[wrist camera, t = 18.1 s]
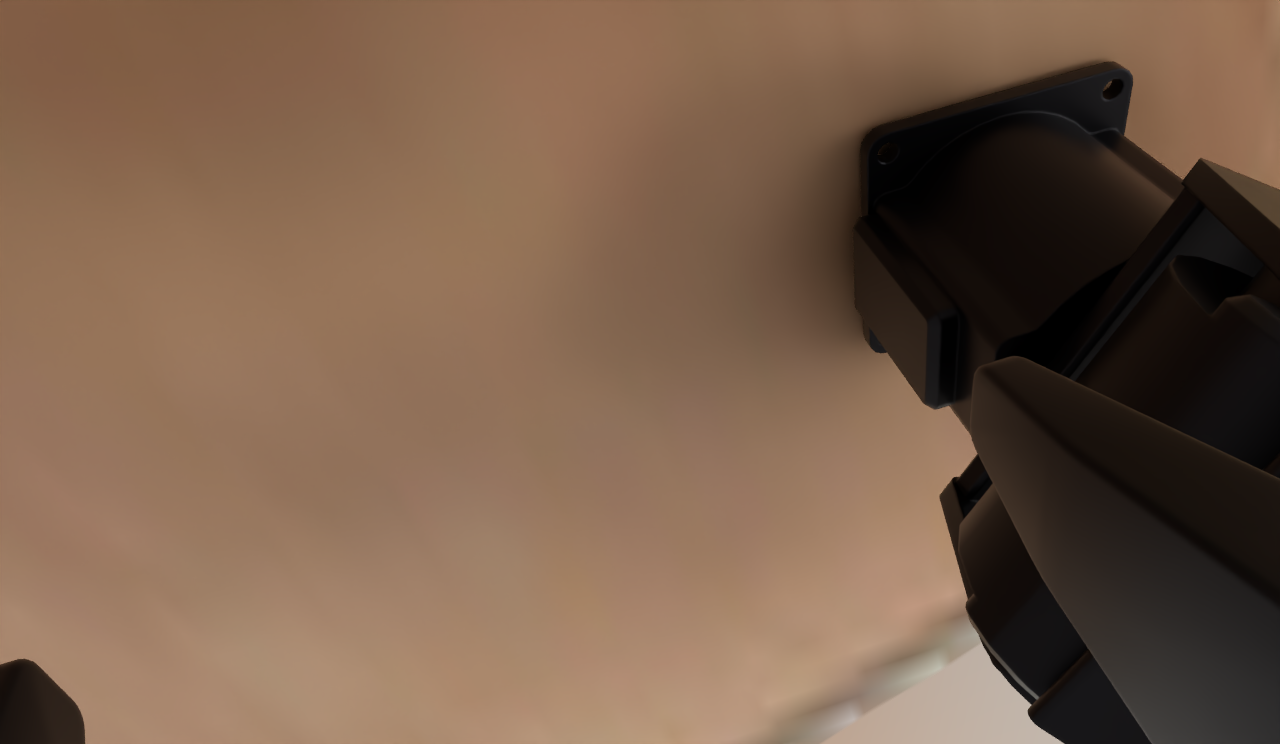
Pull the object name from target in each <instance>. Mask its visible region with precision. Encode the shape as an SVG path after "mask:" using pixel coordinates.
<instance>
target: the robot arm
mask: <svg viewBox="0 0 1280 744" xmlns="http://www.w3.org/2000/svg"><path fill="white" fill-rule="evenodd" d="M1111 80H1112V83H1111V85H1110V86H1109V87H1108V88H1107V90H1105V91H1103V90H1104V87H1105V86H1106V85H1107V84H1108V82H1110V81H1111ZM1132 86H1133V76H1132V75H1131V73H1130V71H1129V70H1127V69H1126V68H1124V67H1123V66H1121V65H1120V64H1118V63H1115V62H1104V63H1101V64H1097V65H1094V66H1090V67H1086V68H1083V69H1079V70H1076V71H1072V72H1069V73H1065V74H1061V75H1058V76H1054V77H1051V78H1047V79H1044V80H1040V81H1037V82H1033V83H1029V84H1026V85H1022V86H1019V87H1015V88H1012V89H1008V90H1004V91H1001V92H997V93H994V94H990V95H987V96H983V97H979V98H976V99H972V100H969V101H965V102H962V103H958V104H955V105H951V106H947V107H944V108H940V109H937V110H933V111H930V112H926V113H922V114H919V115H915V116H912V117H908V118H905V119H901V120H897V121H894V122H890V123H887V124H883V125H880V126H878V127H876V128H874V129H872V130H871V131H870V132H869V133H868V134H867V135H866V136H865V138H864V139H863V141H862V143H861V148H860V175H861V217H859V218H858V219H857V221H856V223H855V225H854V227H853V259H854V297H855V307H856V309H857V310H858V312H859V313H860V315H861V316H862V317H863V332H864V338H865V340H866V341H867V343H868V344H869V346H870V347H871V349H873V350H874V351H875V352H878V353H886V352H887V353H888V354H889V356H890V357H891V358H892V360H893V361H894V363H895V364H896V365H897V367H898V368H899V370H900V371H901V373H902V374H903V375H904V377H905V378H906V380H907V381H908V382H909V384H910V385H911V387H912V388H913V389H914V391H915V392H916V394H917V395H918V397H919V398H920V399H921V401H922V402H923V403H924V404H925V405H927V406H929V407H931V408H932V409H939V408H942V407H946V406H950V407H951V409H952V410H953V412H954V413H955V414H956V416H957V417H958V418H959V420H960V421H961V422H962V424H963V425H964V427H965V428H966V429H967V431H968V432H969V433H970V435H971V437H972V441H973V444H974V447H975V449H976V451H977V453H978V454H977V455H976V456H975V458H974V459H973V460H972V461H971V463H970V464H969V465H968V467H967V468H966V469H965V470H964V472H963V473H962V474H961V476H960V477H954V478H953V479H952V480H951V481H950V483H949V484H948V485H947V486H946V488H945V489H944V490H943V492H942V493H941V494H940V501H941V505H942V508H943V512H944V516H945V519H946V523H947V526H948V530H949V533H950V537H951V541H952V544H953V548H954V551H955V555H956V558H957V562H958V565H959V569H960V573H961V576H962V580H963V583H964V587H965V590H966V594H967V598H968V601H967V602H966V610H967V614H968V617H969V620H970V622H971V624H972V625H973V627H974V628H975V630H976V631H977V633H978V634H979V637H980V639H981V642H982V644H983V646H984V648H985V650H986V651H987V653H988V655H989V656H990V659H991V661H992V663H993V665H994V666H995V667H996V668H997V669H998V670H999V671H1000V672H1001V673H1002V674H1003V676H1004V677H1005V678H1006V679H1007V681H1008V682H1009V683H1010V684H1011V685H1012V686H1013V687H1014V688H1015V689H1016V690H1017V691H1018V692H1019V693H1020V694H1021V695H1022V696H1023V697H1024V698H1025V699H1026V700H1027V701H1028V702H1029V703H1030V704H1031V705H1032V706H1031V707H1030V708H1029V709H1028V715H1029V717H1030V719H1031V720H1032V721H1033V722H1034V723H1035V724H1036V725H1037V726H1038V727H1040V728H1041V729H1043V730H1044V731H1046V732H1047V733H1049V734H1051V735H1052V736H1054V737H1055V738H1057V739H1058V740H1060V741H1061V742H1063V743H1064V744H1280V190H1279V189H1276V188H1274V187H1271V186H1269V185H1267V184H1264V183H1262V182H1259V181H1257V180H1254V179H1252V178H1249V177H1247V176H1245V175H1242V174H1240V173H1237V172H1235V171H1232V170H1230V169H1227V168H1225V167H1222V166H1220V165H1218V164H1215V163H1213V162H1210V161H1208V160H1205V159H1203V158H1200V159H1199V160H1198V162H1197V163H1196V164H1195V165H1194V167H1193V168H1192V169H1191V171H1190V172H1189V173H1188V174H1187V176H1186V177H1185V178H1184V180H1182V179H1181V178H1179V177H1178V176H1177V175H1175V174H1174V173H1173V172H1171V171H1170V170H1169V169H1167V168H1166V167H1165V166H1163V165H1162V164H1161V163H1159V162H1158V161H1157V160H1155V159H1154V158H1153V157H1151V156H1150V155H1149V154H1147V153H1146V152H1145V151H1143V150H1142V149H1141V148H1139V147H1138V146H1137V145H1135V144H1134V143H1133V142H1131V141H1130V140H1129V139H1127V138H1126V137H1125V136H1124V132H1125V126H1126V120H1127V115H1128V109H1129V103H1130V97H1131V91H1132ZM887 143H891V145H890V148H889V149H888V150H887V151H886V152H885V153H883V154H881V155H878V152H879V150H880V148H881V147H882V146H883V145H885V144H887ZM0 744H85V728H84V722H83V717H82V715H81V712H80V710H79V708H78V706H77V705H76V703H75V702H74V701H73V700H72V699H71V698H70V697H69V696H68V695H67V694H66V693H65V692H64V691H63V690H62V689H61V688H60V687H59V686H58V685H57V684H56V683H55V682H54V681H53V680H52V679H51V678H50V677H49V676H48V675H47V674H46V673H45V672H44V671H43V670H42V669H41V668H40V667H39V666H38V665H37V664H36V663H34V662H33V661H30V660H27V659H17V660H14V661H11V662H7V663H4V664H1V665H0Z"/></svg>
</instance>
